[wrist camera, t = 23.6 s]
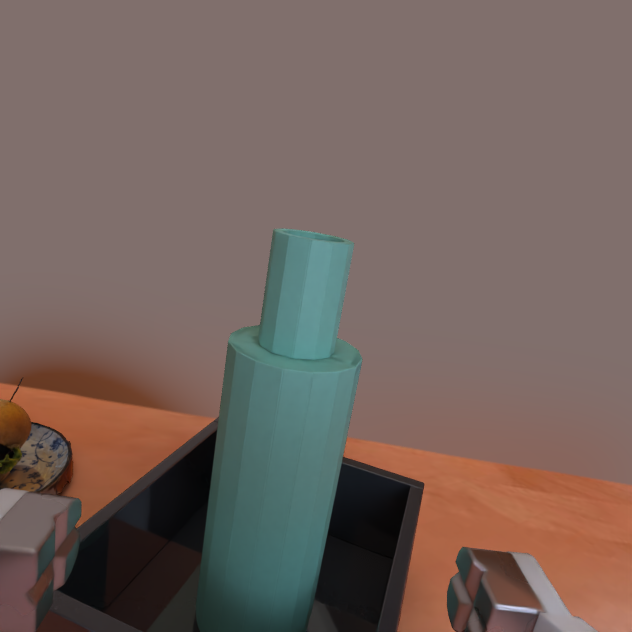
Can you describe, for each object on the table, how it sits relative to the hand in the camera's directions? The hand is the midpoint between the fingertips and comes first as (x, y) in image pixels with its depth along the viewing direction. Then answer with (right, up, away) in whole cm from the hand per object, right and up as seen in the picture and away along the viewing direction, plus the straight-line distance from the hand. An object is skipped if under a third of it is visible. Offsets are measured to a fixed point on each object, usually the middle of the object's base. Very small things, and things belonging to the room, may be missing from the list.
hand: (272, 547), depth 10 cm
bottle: (-2, -11, +15) cm, 19 cm away
